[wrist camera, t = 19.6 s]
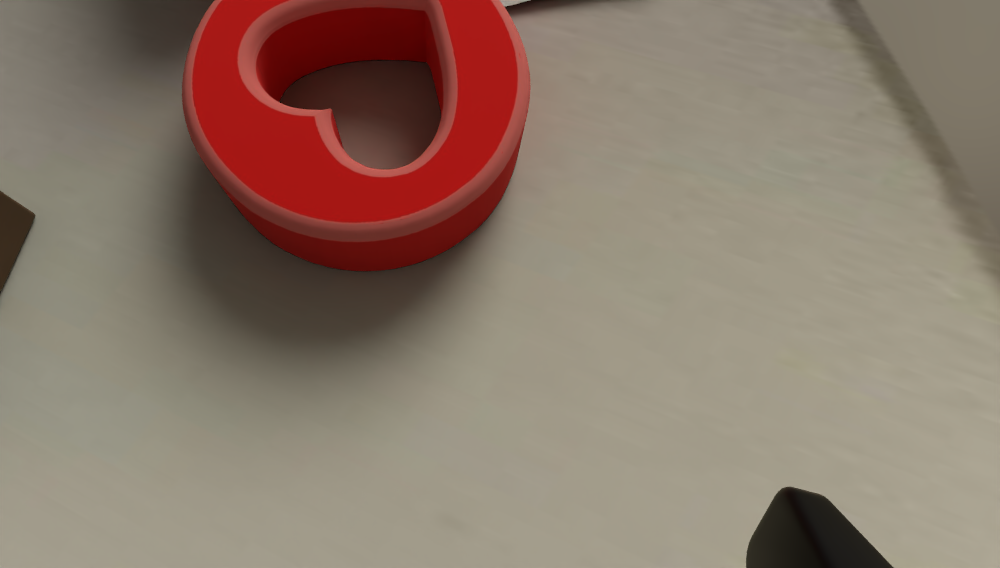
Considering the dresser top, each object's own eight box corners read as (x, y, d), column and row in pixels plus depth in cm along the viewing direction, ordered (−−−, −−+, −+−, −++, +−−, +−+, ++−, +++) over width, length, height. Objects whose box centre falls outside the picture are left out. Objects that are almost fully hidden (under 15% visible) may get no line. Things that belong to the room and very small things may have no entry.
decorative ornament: (550, 38, 25) (566, -25, 22) (474, 307, 22) (480, 278, 19) (274, -38, 25) (250, -112, 22) (164, 222, 22) (120, 179, 19)
